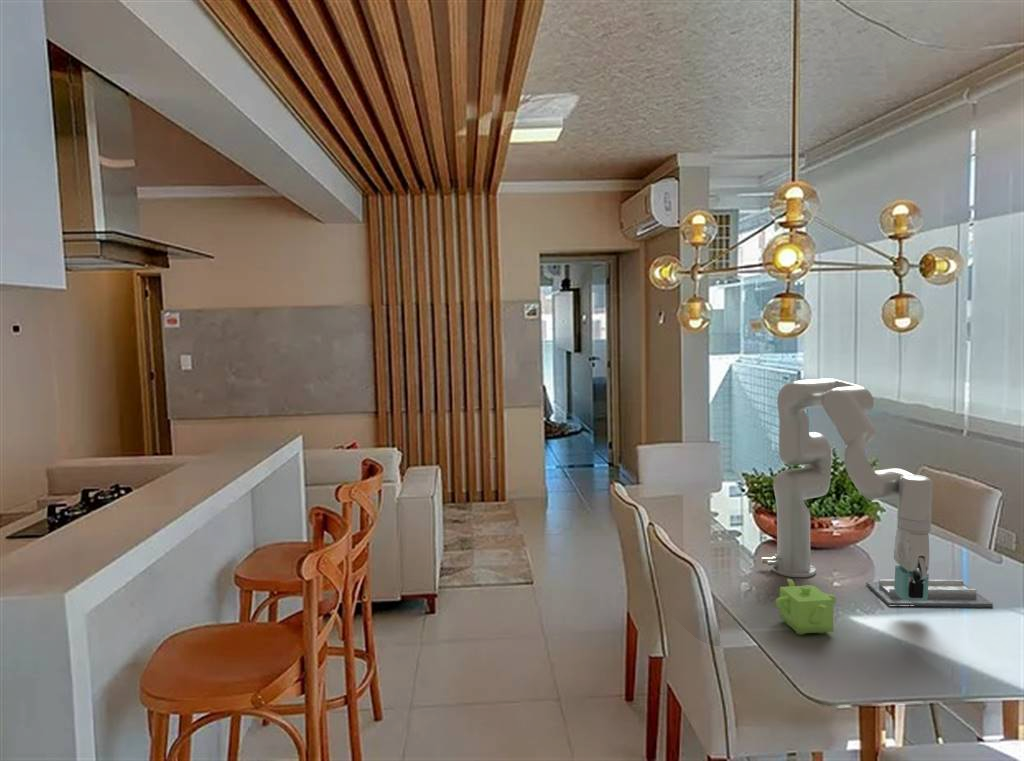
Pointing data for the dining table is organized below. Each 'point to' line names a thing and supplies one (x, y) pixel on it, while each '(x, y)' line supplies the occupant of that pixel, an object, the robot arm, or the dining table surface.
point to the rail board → (933, 594)
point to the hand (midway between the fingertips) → (910, 592)
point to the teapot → (806, 608)
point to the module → (907, 584)
